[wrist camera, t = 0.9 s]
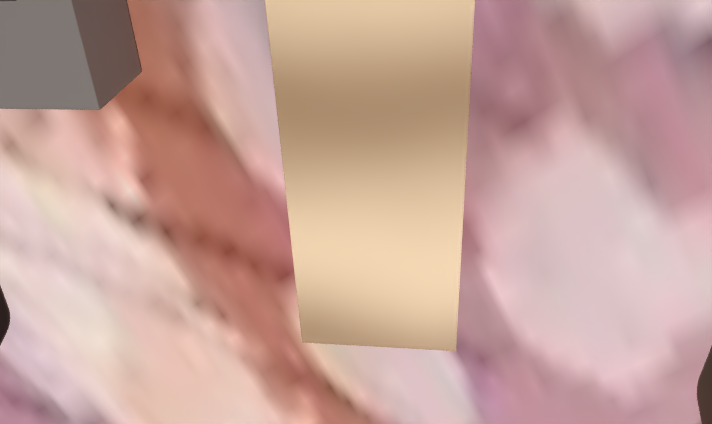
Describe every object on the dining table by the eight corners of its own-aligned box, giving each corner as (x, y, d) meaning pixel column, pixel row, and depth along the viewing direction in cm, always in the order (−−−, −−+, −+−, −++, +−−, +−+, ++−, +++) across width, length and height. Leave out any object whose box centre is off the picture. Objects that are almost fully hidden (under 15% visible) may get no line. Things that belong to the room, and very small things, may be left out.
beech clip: (455, 215, 23) (455, 351, 17) (338, 211, 23) (302, 342, 18) (474, -203, 16) (485, -200, 11) (312, -196, 17) (244, -189, 11)
